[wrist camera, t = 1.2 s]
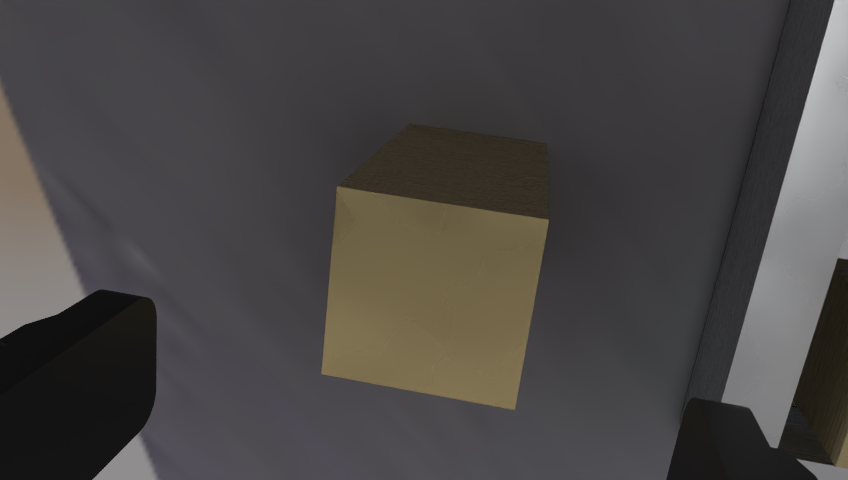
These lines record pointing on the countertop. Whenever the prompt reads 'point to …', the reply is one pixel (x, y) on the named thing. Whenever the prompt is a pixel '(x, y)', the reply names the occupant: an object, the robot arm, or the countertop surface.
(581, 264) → the countertop surface
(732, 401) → the white slotted tray
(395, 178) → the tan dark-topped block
